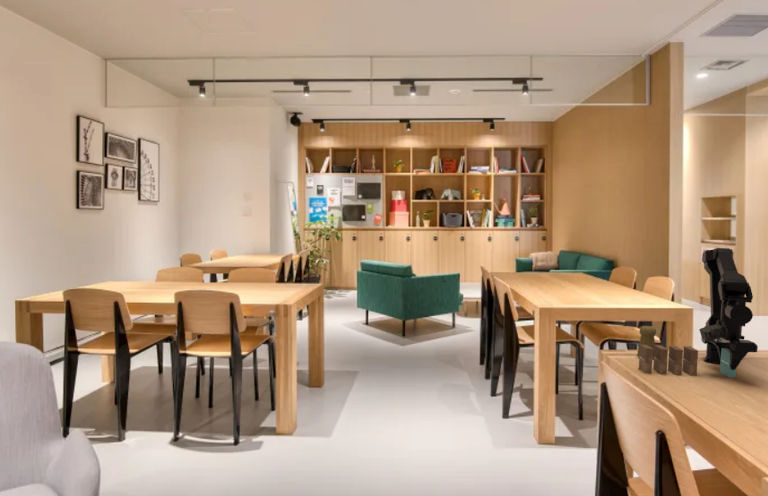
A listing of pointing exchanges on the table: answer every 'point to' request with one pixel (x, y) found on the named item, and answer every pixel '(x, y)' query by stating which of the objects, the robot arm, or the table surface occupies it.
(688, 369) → the domino
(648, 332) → the cork
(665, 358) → the domino
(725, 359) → the domino
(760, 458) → the table surface
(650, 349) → the domino
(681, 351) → the domino
